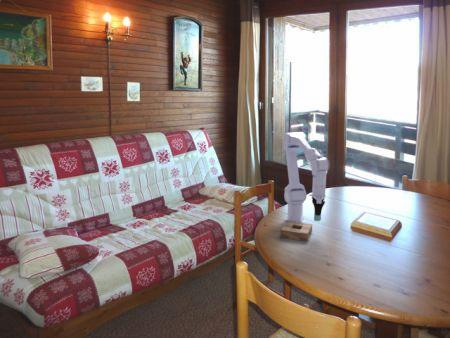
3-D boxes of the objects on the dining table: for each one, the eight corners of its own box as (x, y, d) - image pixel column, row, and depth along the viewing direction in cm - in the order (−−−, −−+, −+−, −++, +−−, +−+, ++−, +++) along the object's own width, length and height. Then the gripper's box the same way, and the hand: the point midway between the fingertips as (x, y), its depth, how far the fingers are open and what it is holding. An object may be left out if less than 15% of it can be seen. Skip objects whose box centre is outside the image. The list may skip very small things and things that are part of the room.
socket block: (286, 227, 187) (286, 220, 186) (312, 231, 182) (312, 224, 181) (280, 237, 176) (280, 230, 175) (307, 241, 171) (307, 233, 171)
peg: (315, 218, 179) (316, 199, 177) (321, 219, 178) (322, 200, 176) (313, 220, 177) (314, 201, 175) (319, 221, 175) (320, 202, 173)
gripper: (309, 180, 181) (308, 208, 184) (310, 189, 167) (308, 218, 170) (325, 180, 180) (323, 208, 183) (327, 189, 166) (325, 219, 169)
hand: (317, 213), depth 177 cm, fingers closed on peg, 3 cm apart
